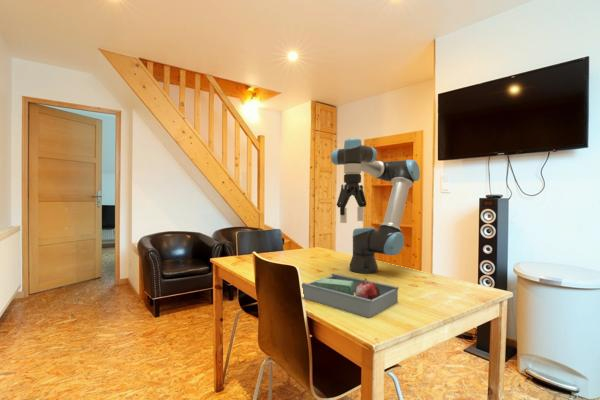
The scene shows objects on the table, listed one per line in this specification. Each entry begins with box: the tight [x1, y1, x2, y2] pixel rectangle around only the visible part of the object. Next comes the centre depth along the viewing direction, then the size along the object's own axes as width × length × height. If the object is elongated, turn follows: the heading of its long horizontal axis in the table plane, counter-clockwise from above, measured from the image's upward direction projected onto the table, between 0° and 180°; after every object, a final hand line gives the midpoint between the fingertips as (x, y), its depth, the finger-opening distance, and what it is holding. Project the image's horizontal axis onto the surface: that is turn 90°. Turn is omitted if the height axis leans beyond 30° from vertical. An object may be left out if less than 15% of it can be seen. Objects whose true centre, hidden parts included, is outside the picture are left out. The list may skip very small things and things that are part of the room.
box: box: [316, 277, 355, 296], centre depth 121 cm, size 7×14×8 cm, turn 71°
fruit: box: [354, 278, 380, 300], centre depth 116 cm, size 9×10×10 cm
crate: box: [301, 273, 399, 319], centre depth 121 cm, size 21×30×6 cm
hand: (352, 222), depth 139 cm, fingers open, 13 cm apart
